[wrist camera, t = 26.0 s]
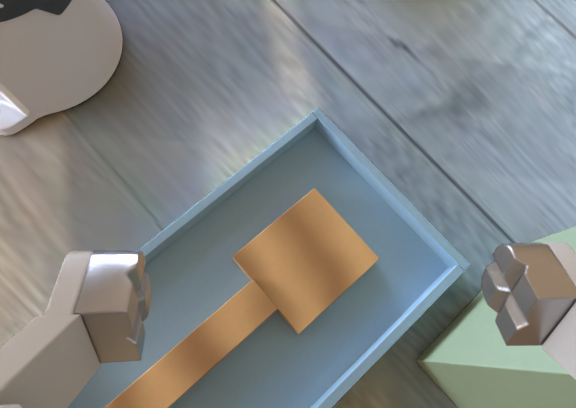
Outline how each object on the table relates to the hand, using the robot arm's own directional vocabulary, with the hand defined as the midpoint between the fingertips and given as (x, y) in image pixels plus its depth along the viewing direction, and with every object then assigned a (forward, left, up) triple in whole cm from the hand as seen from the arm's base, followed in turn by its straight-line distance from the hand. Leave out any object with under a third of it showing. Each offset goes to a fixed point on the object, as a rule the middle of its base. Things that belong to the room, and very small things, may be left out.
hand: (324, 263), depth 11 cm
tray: (-1, +1, -29) cm, 29 cm away
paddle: (-2, 0, -29) cm, 29 cm away
